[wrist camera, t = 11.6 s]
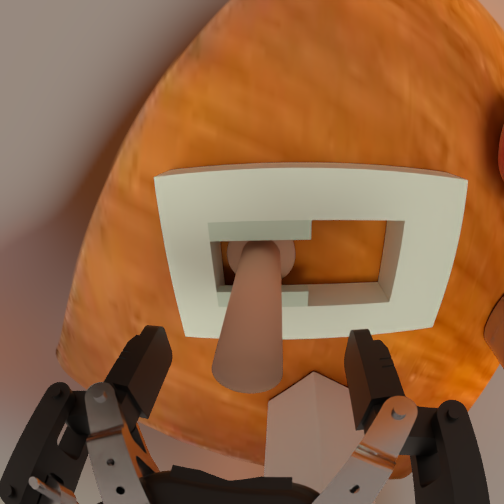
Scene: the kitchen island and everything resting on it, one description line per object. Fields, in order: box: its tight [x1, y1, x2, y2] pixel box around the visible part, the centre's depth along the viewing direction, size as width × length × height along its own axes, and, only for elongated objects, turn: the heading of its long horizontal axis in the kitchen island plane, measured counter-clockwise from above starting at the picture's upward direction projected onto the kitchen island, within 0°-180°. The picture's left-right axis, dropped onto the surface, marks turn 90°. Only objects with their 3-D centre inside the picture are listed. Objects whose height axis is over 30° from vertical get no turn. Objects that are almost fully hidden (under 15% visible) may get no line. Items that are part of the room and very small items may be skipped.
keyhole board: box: [154, 162, 468, 339], centre depth 18 cm, size 20×12×3 cm, turn 93°
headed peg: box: [212, 240, 295, 393], centre depth 14 cm, size 5×5×11 cm
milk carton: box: [264, 372, 375, 504], centre depth 18 cm, size 7×7×19 cm
